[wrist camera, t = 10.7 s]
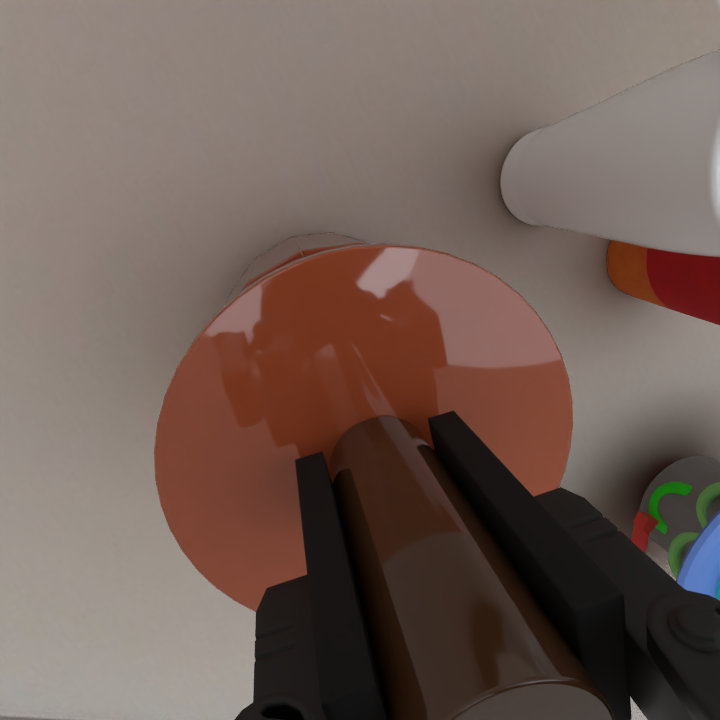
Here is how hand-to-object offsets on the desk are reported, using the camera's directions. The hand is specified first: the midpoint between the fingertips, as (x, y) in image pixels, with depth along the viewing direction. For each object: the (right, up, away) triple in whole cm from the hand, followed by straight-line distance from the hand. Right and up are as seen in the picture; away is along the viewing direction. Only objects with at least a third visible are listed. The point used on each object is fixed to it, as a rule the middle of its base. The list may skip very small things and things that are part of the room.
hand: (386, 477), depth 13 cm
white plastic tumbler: (+10, +14, +15) cm, 23 cm away
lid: (0, 0, +1) cm, 1 cm away
